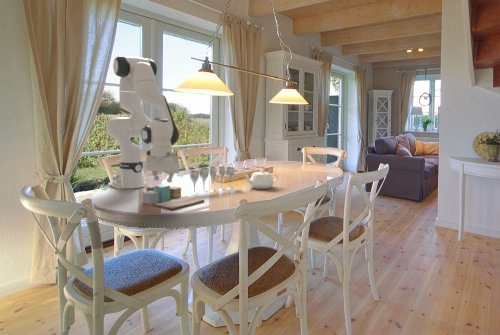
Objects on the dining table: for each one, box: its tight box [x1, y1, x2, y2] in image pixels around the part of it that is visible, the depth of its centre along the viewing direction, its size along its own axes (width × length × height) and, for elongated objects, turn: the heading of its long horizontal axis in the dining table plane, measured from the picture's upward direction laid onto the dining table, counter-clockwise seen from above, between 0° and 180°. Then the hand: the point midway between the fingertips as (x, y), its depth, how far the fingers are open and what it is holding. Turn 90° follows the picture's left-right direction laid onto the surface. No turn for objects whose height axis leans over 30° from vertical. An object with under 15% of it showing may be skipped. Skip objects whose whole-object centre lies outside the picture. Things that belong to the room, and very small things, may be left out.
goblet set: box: [189, 165, 236, 195], centre depth 191 cm, size 28×6×13 cm, turn 127°
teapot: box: [242, 168, 279, 190], centre depth 201 cm, size 22×14×11 cm, turn 112°
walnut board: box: [153, 195, 205, 211], centre depth 161 cm, size 12×20×1 cm, turn 144°
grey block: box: [142, 191, 160, 205], centre depth 162 cm, size 5×5×5 cm
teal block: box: [154, 184, 171, 202], centre depth 168 cm, size 5×5×7 cm
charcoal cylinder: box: [145, 186, 155, 192], centre depth 173 cm, size 4×4×5 cm
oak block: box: [170, 186, 182, 200], centre depth 173 cm, size 5×5×5 cm
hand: (162, 181), depth 166 cm, fingers open, 8 cm apart
